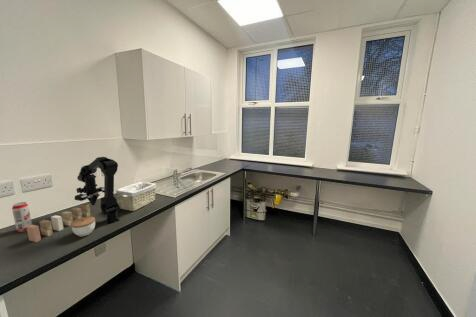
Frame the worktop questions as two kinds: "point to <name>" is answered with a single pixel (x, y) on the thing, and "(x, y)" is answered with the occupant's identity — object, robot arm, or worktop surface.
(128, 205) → the storage basket
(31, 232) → the domino end
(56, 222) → the domino
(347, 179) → the worktop surface
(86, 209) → the domino
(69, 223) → the domino
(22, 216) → the beer can
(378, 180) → the worktop surface
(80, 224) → the lidded jar
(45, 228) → the domino
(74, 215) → the domino
